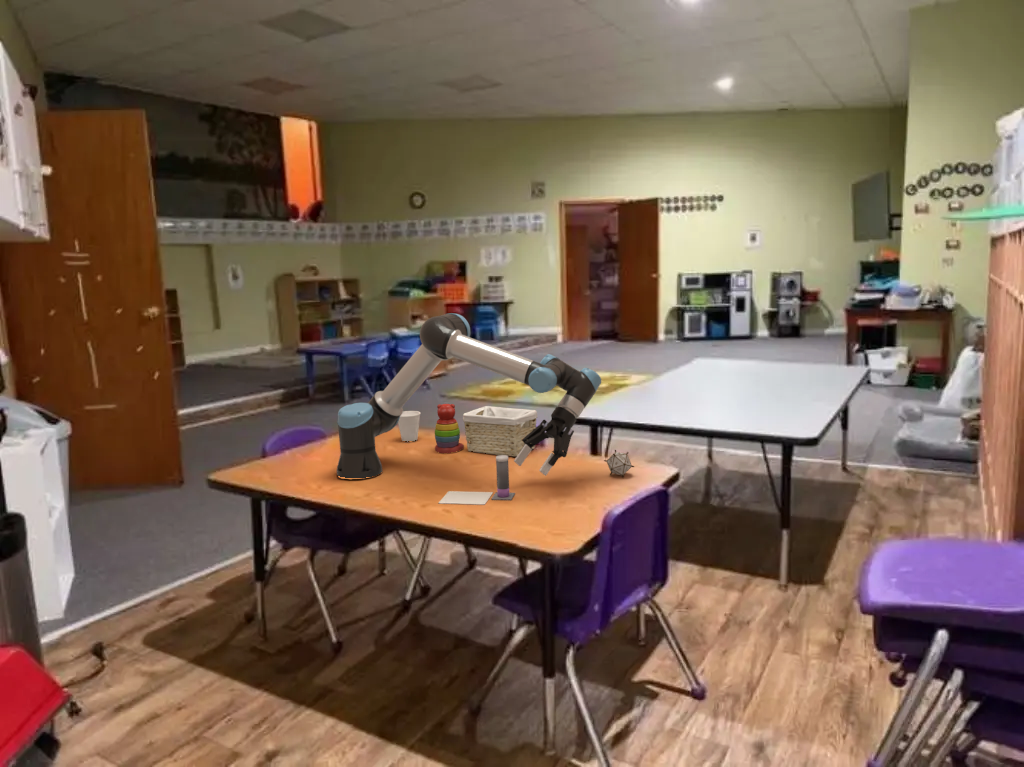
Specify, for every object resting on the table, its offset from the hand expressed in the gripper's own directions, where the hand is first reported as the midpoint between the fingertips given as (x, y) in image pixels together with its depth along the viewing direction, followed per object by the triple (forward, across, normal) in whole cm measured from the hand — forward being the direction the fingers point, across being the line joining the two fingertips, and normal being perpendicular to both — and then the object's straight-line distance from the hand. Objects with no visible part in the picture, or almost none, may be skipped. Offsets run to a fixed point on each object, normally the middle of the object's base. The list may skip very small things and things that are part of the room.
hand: (529, 468), depth 228 cm
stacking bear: (+2, +60, -8) cm, 60 cm away
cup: (+5, +84, -5) cm, 84 cm away
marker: (+11, 0, +2) cm, 12 cm away
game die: (-16, -6, -27) cm, 32 cm away
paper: (+18, +6, +8) cm, 21 cm away
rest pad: (+12, 0, +2) cm, 12 cm away
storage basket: (-8, +47, -19) cm, 51 cm away
